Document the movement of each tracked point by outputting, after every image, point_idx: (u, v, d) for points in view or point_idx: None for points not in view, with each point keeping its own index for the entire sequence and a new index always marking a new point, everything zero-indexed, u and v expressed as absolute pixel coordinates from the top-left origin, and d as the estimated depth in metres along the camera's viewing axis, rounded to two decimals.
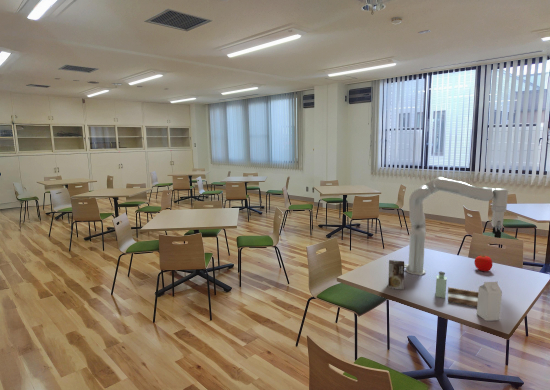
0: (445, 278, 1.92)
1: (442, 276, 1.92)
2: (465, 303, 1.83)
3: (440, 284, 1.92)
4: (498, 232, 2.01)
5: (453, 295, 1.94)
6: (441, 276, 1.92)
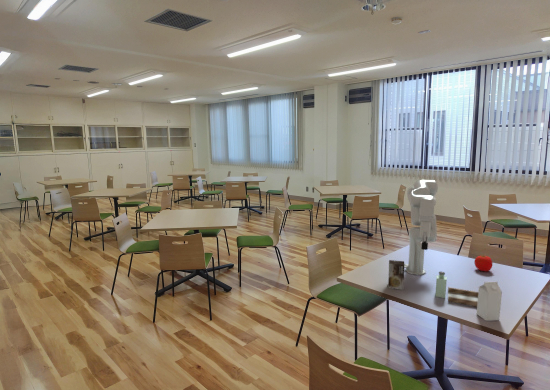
0: (445, 278, 1.92)
1: (442, 276, 1.92)
2: (465, 303, 1.83)
3: (440, 284, 1.92)
4: (424, 244, 1.94)
5: (453, 295, 1.94)
6: (441, 276, 1.92)
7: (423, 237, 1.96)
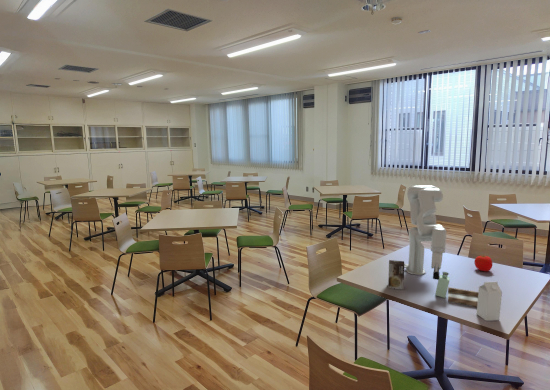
0: (448, 278, 1.92)
1: (445, 276, 1.91)
2: (465, 303, 1.83)
3: (442, 284, 1.91)
4: (436, 274, 1.93)
5: (453, 295, 1.94)
6: (444, 276, 1.92)
7: None
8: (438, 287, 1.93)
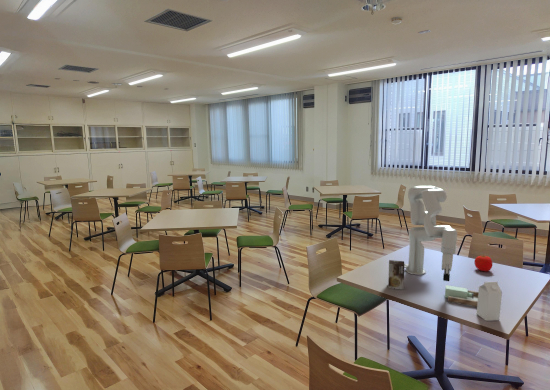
0: (466, 298, 1.89)
1: (469, 296, 1.87)
2: (465, 303, 1.83)
3: (460, 295, 1.88)
4: (446, 275, 1.91)
5: None
6: (469, 295, 1.87)
7: None
8: (455, 291, 1.89)
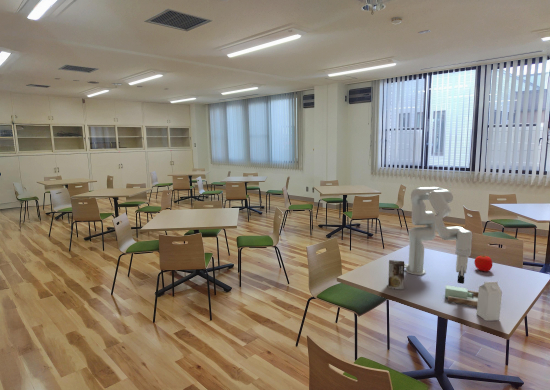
0: (466, 298, 1.89)
1: (469, 296, 1.87)
2: (465, 303, 1.83)
3: (460, 295, 1.88)
4: (461, 277, 1.87)
5: None
6: (469, 295, 1.87)
7: None
8: (455, 291, 1.89)
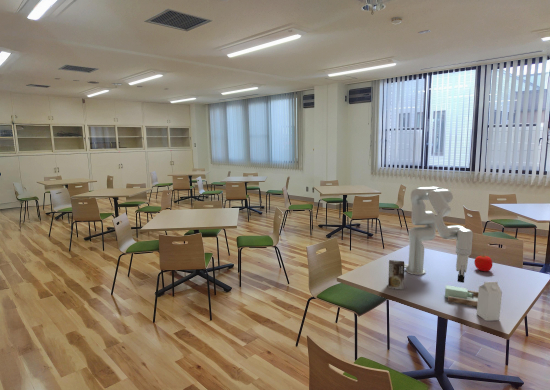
0: (466, 298, 1.89)
1: (469, 296, 1.87)
2: (465, 303, 1.83)
3: (460, 295, 1.88)
4: (461, 277, 1.88)
5: None
6: (469, 295, 1.87)
7: None
8: (455, 291, 1.89)
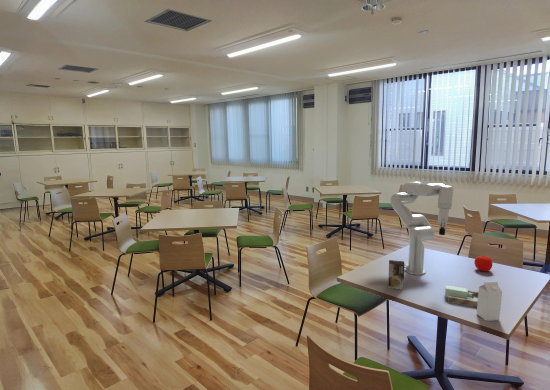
0: (466, 298, 1.89)
1: (469, 296, 1.87)
2: (465, 303, 1.83)
3: (460, 295, 1.88)
4: (442, 229, 2.05)
5: None
6: (469, 295, 1.87)
7: (441, 223, 2.06)
8: (455, 291, 1.89)
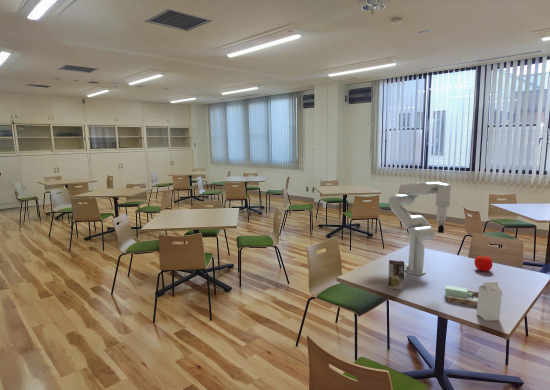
0: (466, 298, 1.89)
1: (469, 296, 1.87)
2: (465, 303, 1.83)
3: (460, 295, 1.88)
4: (441, 227, 2.06)
5: None
6: (469, 295, 1.87)
7: None
8: (455, 291, 1.89)
